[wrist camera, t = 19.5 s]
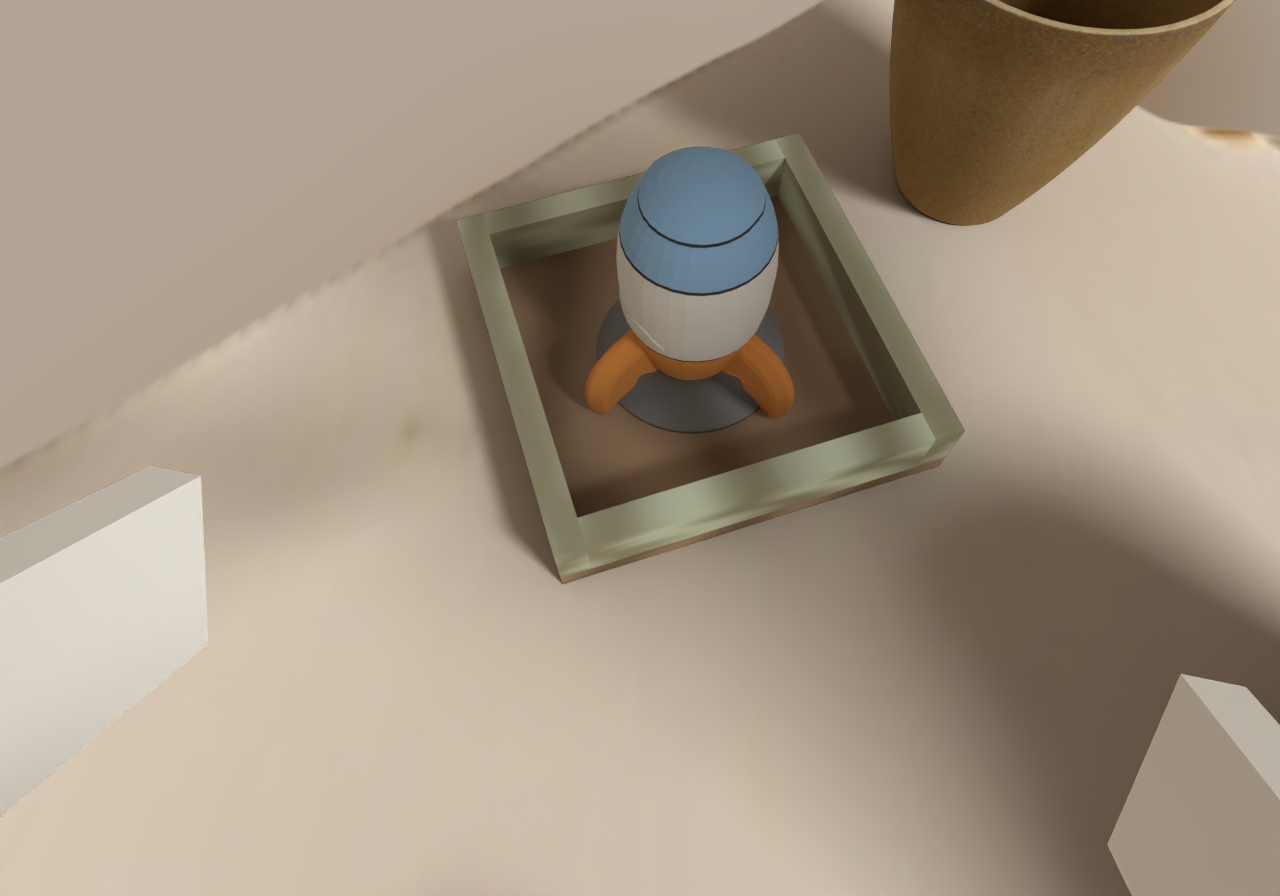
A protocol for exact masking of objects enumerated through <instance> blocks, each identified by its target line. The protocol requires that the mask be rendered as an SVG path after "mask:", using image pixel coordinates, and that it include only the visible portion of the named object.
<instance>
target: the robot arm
mask: <svg viewBox="0 0 1280 896" xmlns="http://www.w3.org/2000/svg"><path fill="white" fill-rule="evenodd" d="M207 644H208V624H207V602H206V579H205V556H204V534H203V511H202V488H201V476H200V475H195V474H190V473H185V472H180V471H175V470H170V469H165V468H160V467H155V466H149V467H147V468H145V469H143V470H140V471H138V472H136V473H134V474H132V475H130V476H128V477H126V478H124V479H122V480H119V481H117V482H115V483H113V484H111V485H109V486H107V487H105V488H103V489H101V490H99V491H96V492H94V493H92V494H90V495H88V496H86V497H84V498H82V499H80V500H78V501H75V502H73V503H71V504H69V505H67V506H65V507H63V508H61V509H59V510H57V511H55V512H52V513H50V514H48V515H46V516H44V517H42V518H40V519H38V520H36V521H34V522H31V523H29V524H27V525H25V526H23V527H21V528H19V529H17V530H15V531H13V532H11V533H8V534H6V535H4V536H2V537H0V817H1V816H3V815H4V814H5V813H6V812H7V811H8V810H10V809H11V808H12V807H13V806H14V805H16V804H17V803H18V802H19V801H20V800H22V799H23V798H24V797H25V796H26V795H28V794H29V793H30V792H31V791H32V790H34V789H35V788H36V787H37V786H38V785H40V784H41V783H42V782H43V781H44V780H46V779H47V778H48V777H49V776H50V775H52V774H53V773H54V772H55V771H56V770H58V769H59V768H60V767H61V766H62V765H63V764H65V763H66V762H67V761H68V760H69V759H71V758H72V757H73V756H74V755H75V754H77V753H78V752H79V751H80V750H81V749H83V748H84V747H85V746H86V745H87V744H89V743H90V742H91V741H92V740H93V739H95V738H96V737H97V736H98V735H99V734H101V733H102V732H103V731H104V730H105V729H107V728H108V727H109V726H110V725H111V724H113V723H114V722H115V721H116V720H117V719H118V718H120V717H121V716H122V715H123V714H124V713H126V712H127V711H128V710H129V709H130V708H132V707H133V706H134V705H135V704H136V703H138V702H139V701H140V700H141V699H142V698H144V697H145V696H146V695H147V694H148V693H150V692H151V691H152V690H153V689H154V688H156V687H157V686H158V685H159V684H160V683H162V682H163V681H164V680H165V679H166V678H167V677H169V676H170V675H171V674H172V673H173V672H175V671H176V670H177V669H178V668H179V667H181V666H182V665H183V664H184V663H185V662H187V661H188V660H189V659H190V658H191V657H193V656H194V655H195V654H196V653H197V652H199V651H200V650H201V649H202V648H203V647H205V646H206V645H207ZM1107 845H1108V848H1109V850H1110V852H1111V854H1112V856H1113V858H1114V860H1115V862H1116V864H1117V866H1118V868H1119V870H1120V872H1121V875H1122V877H1123V879H1124V881H1125V883H1126V885H1127V887H1128V889H1129V891H1130V893H1131V895H1132V896H1280V725H1279V724H1278V722H1277V721H1276V720H1275V719H1274V718H1273V717H1272V716H1271V715H1270V713H1269V712H1268V711H1267V710H1266V709H1265V708H1264V707H1263V706H1262V705H1261V703H1260V702H1259V701H1258V700H1257V699H1256V698H1255V697H1254V696H1253V694H1252V693H1251V692H1250V691H1249V690H1248V689H1247V688H1246V687H1244V686H1239V685H1234V684H1229V683H1224V682H1219V681H1214V680H1209V679H1204V678H1199V677H1194V676H1189V675H1184V674H1180V677H1179V679H1178V681H1177V683H1176V686H1175V688H1174V690H1173V693H1172V695H1171V697H1170V700H1169V702H1168V704H1167V707H1166V709H1165V711H1164V714H1163V716H1162V718H1161V721H1160V723H1159V725H1158V728H1157V730H1156V732H1155V735H1154V737H1153V739H1152V742H1151V744H1150V746H1149V749H1148V751H1147V753H1146V756H1145V758H1144V760H1143V763H1142V765H1141V767H1140V770H1139V772H1138V774H1137V777H1136V779H1135V781H1134V784H1133V786H1132V788H1131V791H1130V793H1129V795H1128V798H1127V800H1126V802H1125V805H1124V807H1123V809H1122V812H1121V814H1120V816H1119V819H1118V821H1117V823H1116V826H1115V828H1114V830H1113V833H1112V835H1111V837H1110V840H1109V842H1108V844H1107Z"/></svg>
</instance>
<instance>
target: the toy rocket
mask: <svg viewBox="0 0 1280 896" xmlns="http://www.w3.org/2000/svg"><path fill="white" fill-rule="evenodd" d="M778 252H779V244H778V225H777V219H776V215H775V211H774V207H773V204H772V201H771V199H770V196H769V194H768V192H767V190H766V188H765V186H764V184H763V182H762V180H761V178H760V177H759V175H758V173H757V172H756V171H755V170H754V168H753V167H752V166H751V165H750V164H748V163H747V162H746V161H745V160H743V159H742V158H740V157H738V156H736V155H734V154H733V153H730V152H727V151H724V150H721V149H716V148H711V147H691V148H684V149H680V150H676V151H673V152H671V153H668V154H666V155H664V156H662V157H661V158H659V159H658V160H656V161H655V162H654V163H653V164H652V165H651V167H650V168H649V169H648V170H647V172H646V173H645V174H644V175H643V176H642V177H641V178H640V180H639V181H638V183H637V184H636V186H635V187H634V189H633V191H632V192H631V194H630V196H629V198H628V200H627V203H626V205H625V208H624V211H623V214H622V217H621V220H620V224H619V230H618V239H617V256H616V260H617V273H618V282H619V288H620V290H619V296H620V302H621V306H622V310H623V313H624V315H625V318H626V321H627V323H628V324H629V326H630V327H631V330H630V331H629V332H627V333H626V334H625V335H624V336H623V337H621V338H620V339H619V340H618V341H617V342H615V343H614V344H613V345H612V346H611V347H610V348H609V349H608V350H607V351H606V352H605V353H604V355H603V356H602V357H601V358H600V359H599V361H598V362H597V363H596V364H595V366H594V367H593V369H592V371H591V373H590V374H589V376H588V379H587V382H586V385H585V398H586V401H587V404H588V406H589V408H590V409H591V410H593V411H594V412H596V413H598V414H606V413H607V412H608V411H609V410H610V409H611V408H612V407H613V406H614V405H615V404H616V403H617V402H618V401H619V400H620V399H621V398H622V397H623V396H624V395H625V394H626V393H627V392H628V391H629V390H631V389H632V388H633V387H634V386H635V384H636V383H637V381H638V378H639V377H640V376H641V375H644V374H646V373H652V372H655V371H657V370H658V369H659V370H660V371H662V372H663V373H665V374H666V375H668V376H671V377H673V378H676V379H679V380H682V381H697V380H702V379H705V378H709V377H711V376H713V375H715V374H717V373H719V372H720V371H722V372H723V373H725V374H728V375H733V376H735V377H738V378H740V379H741V381H742V386H743V388H744V389H745V390H746V391H747V393H748V394H749V395H750V396H751V397H752V398H753V399H754V400H755V401H756V402H757V404H758V405H759V406H760V407H761V408H762V410H763V411H764V412H765V413H766V414H767V416H768V417H769V418H770V419H777V418H780V417H782V416H784V415H785V414H787V413H788V411H789V409H790V407H791V406H792V404H793V400H794V386H793V382H792V380H791V377H790V375H789V373H788V371H787V369H786V368H785V366H784V364H783V363H782V361H781V360H780V359H779V358H778V357H777V355H776V354H775V353H774V352H773V351H772V350H771V349H770V348H769V347H768V346H767V345H766V344H765V343H764V342H763V341H762V340H761V339H760V338H759V337H758V336H757V335H756V334H755V332H756V331H757V329H758V327H759V325H760V323H761V321H762V319H763V317H764V315H765V313H766V310H767V308H768V305H769V302H770V298H771V294H772V290H773V286H774V282H775V278H776V273H777V267H778Z"/></svg>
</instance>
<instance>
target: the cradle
mask: <svg viewBox="0 0 1280 896" xmlns="http://www.w3.org/2000/svg"><path fill="white" fill-rule="evenodd" d="M727 152H730V153H733V154H734V155H736V156H738V157H740V158H742V159H743V160H745V161H746V162H747V163H748V164H750V165H751V166H752V167H753V168H754V170H755V171H756V172H757V173H758V175H759V177H760V178H761V180H762V182H763V184H764V186H765V188H766V190H767V192H768V194H769V196H770V199H771V201H772V204H773V207H774V211H775V215H776V219H777V225H778V244H779V252H778V267H777V273H776V278H775V282H774V286H773V290H772V294H771V298H770V302H769V305H768V308H767V310H766V313H765V315H764V317H763V319H762V321H761V323H760V325H759V327H758V329H757V331H756V332H755V334H756V335H757V336H758V337H759V338H760V339H761V340H762V341H763V342H764V343H765V344H766V345H767V346H768V347H769V348H770V349H771V350H772V351H773V352H774V353H775V354H776V355H777V357H778V358H779V359H780V360H781V361H782V363H783V364H784V366H785V368H786V369H787V371H788V373H789V375H790V377H791V380H792V382H793V386H794V400H793V404H792V406H791V407H790V409H789V411H788V413H787V414H785V415H784V416H782V417H780V418H777V419H770V418H769V417H768V416H767V414H766V413H765V412H764V411H763V410H762V408H761V407H760V406H759V405H758V404H757V402H756V401H755V400H754V399H753V398H752V397H751V396H750V395H749V394H748V393H747V391H746V390H745V389H744V388H743V386H742V381H741V379H740V378H738V377H735V376H733V375H728V374H725V373H723V372H722V371H720V372H719V373H717V374H715V375H713V376H711V377H709V378H705V379H702V380H697V381H682V380H679V379H676V378H673V377H671V376H668V375H666V374H665V373H663V372H662V371H660V370H659V369H658V370H657V371H655V372H652V373H646V374H644V375H641V376H640V377H639V378H638V381H637V383H636V384H635V386H634V387H633V388H632V389H631V390H629V391H628V392H627V393H626V394H625V395H624V396H623V397H622V398H621V399H620V400H619V401H618V402H617V403H616V404H615V405H614V406H613V407H612V408H611V409H610V410H609V411H608V412H607V413H606V414H598V413H596V412H594V411H593V410H591V409H590V408H589V406H588V404H587V401H586V398H585V385H586V382H587V379H588V376H589V374H590V373H591V371H592V369H593V367H594V366H595V364H596V363H597V362H598V361H599V359H600V358H601V357H602V356H603V355H604V353H605V352H606V351H607V350H608V349H609V348H610V347H611V346H612V345H613V344H614V343H615V342H617V341H618V340H619V339H620V338H621V337H623V336H624V335H625V334H626V333H627V332H629V331H630V330H631V327H630V326H629V324H628V323H627V321H626V318H625V315H624V313H623V310H622V306H621V302H620V296H619V290H620V288H619V282H618V273H617V260H616V256H617V239H618V230H619V224H620V220H621V217H622V214H623V211H624V208H625V205H626V203H627V200H628V198H629V196H630V194H631V192H632V191H633V189H634V187H635V186H636V184H637V183H638V181H639V180H640V178H641V177H642V176H643V175H644V174H645V173H646V172H644V173H640V174H636V175H632V176H628V177H624V178H621V179H617V180H613V181H609V182H605V183H601V184H597V185H593V186H589V187H585V188H581V189H577V190H573V191H570V192H566V193H562V194H558V195H554V196H550V197H546V198H542V199H538V200H534V201H530V202H526V203H523V204H519V205H515V206H511V207H507V208H503V209H499V210H495V211H491V212H487V213H483V214H479V215H475V216H472V217H468V218H464V219H460V220H456V223H457V227H458V230H459V234H460V237H461V240H462V244H463V247H464V251H465V254H466V258H467V261H468V265H469V268H470V271H471V275H472V278H473V282H474V285H475V289H476V292H477V295H478V299H479V302H480V306H481V309H482V313H483V316H484V320H485V323H486V326H487V330H488V333H489V337H490V340H491V344H492V347H493V350H494V354H495V357H496V361H497V364H498V368H499V371H500V375H501V378H502V381H503V385H504V388H505V392H506V395H507V399H508V402H509V405H510V409H511V412H512V416H513V419H514V423H515V426H516V430H517V433H518V436H519V440H520V443H521V447H522V450H523V454H524V457H525V461H526V464H527V467H528V471H529V474H530V478H531V481H532V485H533V488H534V491H535V495H536V498H537V502H538V505H539V509H540V512H541V516H542V519H543V522H544V526H545V529H546V533H547V536H548V540H549V543H550V546H551V550H552V553H553V557H554V560H555V563H556V566H557V569H558V572H559V575H560V578H561V581H562V584H565V583H568V582H571V581H574V580H577V579H581V578H584V577H587V576H590V575H593V574H597V573H600V572H603V571H606V570H609V569H612V568H616V567H619V566H622V565H625V564H628V563H631V562H635V561H638V560H641V559H644V558H647V557H651V556H654V555H657V554H660V553H663V552H666V551H670V550H673V549H676V548H679V547H682V546H686V545H689V544H692V543H695V542H698V541H701V540H705V539H708V538H711V537H714V536H717V535H720V534H724V533H727V532H730V531H733V530H736V529H740V528H743V527H746V526H749V525H752V524H755V523H759V522H762V521H765V520H768V519H771V518H774V517H778V516H781V515H784V514H787V513H790V512H794V511H797V510H800V509H803V508H806V507H809V506H813V505H816V504H819V503H822V502H825V501H829V500H832V499H835V498H838V497H841V496H844V495H848V494H851V493H854V492H857V491H860V490H863V489H867V488H870V487H873V486H876V485H879V484H883V483H886V482H889V481H892V480H895V479H898V478H902V477H905V476H908V475H911V474H914V473H918V472H921V471H924V470H927V469H930V468H933V467H937V466H939V465H940V463H941V462H942V461H943V459H944V458H945V457H946V455H947V454H948V453H949V451H950V450H951V449H952V447H953V446H954V445H955V443H956V442H957V441H958V439H959V438H960V437H961V435H962V434H963V433H964V431H965V430H964V428H963V426H962V424H961V423H960V421H959V419H958V417H957V415H956V414H955V412H954V410H953V408H952V406H951V405H950V403H949V401H948V399H947V397H946V396H945V394H944V392H943V390H942V388H941V387H940V385H939V383H938V381H937V379H936V378H935V376H934V374H933V372H932V370H931V369H930V367H929V365H928V363H927V361H926V360H925V358H924V356H923V354H922V352H921V351H920V349H919V347H918V345H917V343H916V342H915V340H914V338H913V336H912V334H911V333H910V331H909V329H908V327H907V325H906V324H905V322H904V320H903V318H902V316H901V315H900V313H899V311H898V309H897V307H896V306H895V304H894V302H893V300H892V298H891V296H890V295H889V293H888V291H887V289H886V287H885V286H884V284H883V282H882V280H881V278H880V277H879V275H878V273H877V271H876V269H875V268H874V266H873V264H872V262H871V260H870V259H869V257H868V255H867V253H866V251H865V250H864V248H863V246H862V244H861V242H860V241H859V239H858V237H857V235H856V233H855V232H854V230H853V228H852V226H851V224H850V223H849V221H848V219H847V217H846V215H845V214H844V212H843V210H842V208H841V206H840V205H839V203H838V201H837V199H836V197H835V196H834V194H833V192H832V190H831V188H830V187H829V185H828V183H827V181H826V179H825V178H824V176H823V174H822V172H821V170H820V169H819V167H818V165H817V163H816V161H815V160H814V158H813V156H812V154H811V152H810V151H809V149H808V147H807V145H806V143H805V142H804V140H803V138H802V136H801V134H800V133H797V134H793V135H789V136H785V137H781V138H777V139H773V140H770V141H766V142H762V143H758V144H754V145H750V146H746V147H742V148H738V149H734V150H730V151H727Z"/></svg>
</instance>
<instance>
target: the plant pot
mask: <svg viewBox="0 0 1280 896" xmlns="http://www.w3.org/2000/svg"><path fill="white" fill-rule="evenodd" d="M1234 1H1235V0H895V2H894V12H893V24H892V39H891V57H890V123H891V138H892V149H893V158H894V167H895V175H896V180H897V184H898V186H899V188H900V190H901V192H902V194H903V195H904V196H905V198H906V199H907V200H908V201H909V202H910V203H911V204H912V205H913V206H914V207H915V208H916V209H917V210H919V211H920V212H922V213H924V214H925V215H927V216H929V217H932V218H934V219H936V220H939V221H942V222H945V223H950V224H955V225H977V224H983V223H987V222H990V221H992V220H994V219H997V218H998V217H1000V216H1002V215H1003V214H1005V213H1006V212H1008V211H1009V210H1011V209H1012V208H1014V207H1015V206H1017V205H1018V204H1020V203H1021V202H1023V201H1024V200H1026V199H1027V198H1028V197H1030V196H1031V195H1032V194H1034V193H1035V192H1037V191H1038V190H1039V189H1041V188H1042V187H1043V186H1045V185H1046V184H1047V183H1048V182H1050V181H1051V180H1052V179H1054V178H1055V177H1056V176H1058V175H1059V174H1060V173H1061V172H1063V171H1064V170H1065V169H1066V168H1067V167H1069V166H1070V165H1071V164H1072V163H1073V162H1075V161H1076V160H1077V159H1078V158H1079V157H1081V156H1082V155H1083V154H1084V153H1085V152H1086V151H1088V150H1089V149H1090V148H1091V147H1092V146H1093V145H1095V144H1096V143H1097V142H1098V141H1099V140H1100V139H1101V138H1102V137H1104V136H1105V135H1106V134H1107V133H1108V132H1109V131H1110V130H1111V129H1112V128H1113V127H1114V126H1116V125H1117V124H1118V123H1119V122H1120V121H1121V120H1122V119H1123V118H1124V117H1125V116H1126V115H1127V114H1128V113H1129V112H1130V111H1131V110H1132V109H1133V108H1134V107H1135V106H1136V105H1137V104H1138V103H1139V102H1140V101H1142V99H1144V98H1145V97H1146V96H1147V95H1148V94H1149V92H1151V91H1152V90H1153V89H1154V88H1155V87H1156V86H1157V85H1158V84H1159V83H1160V82H1161V81H1162V79H1163V78H1164V77H1165V76H1166V75H1167V74H1168V73H1169V72H1170V71H1171V70H1172V69H1173V68H1174V67H1175V66H1176V64H1177V63H1178V62H1179V61H1180V60H1181V59H1182V58H1183V57H1184V56H1185V55H1186V54H1187V53H1188V52H1189V51H1190V50H1191V48H1192V47H1193V46H1194V45H1195V44H1196V43H1197V42H1198V41H1199V40H1200V38H1201V37H1202V36H1203V35H1204V34H1205V33H1206V32H1207V31H1208V30H1209V29H1210V28H1211V27H1212V26H1213V24H1214V23H1215V22H1216V21H1217V20H1218V19H1219V18H1220V17H1221V15H1222V14H1223V13H1224V12H1225V11H1226V10H1227V8H1229V7H1230V5H1231V4H1232V3H1233V2H1234Z"/></svg>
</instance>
